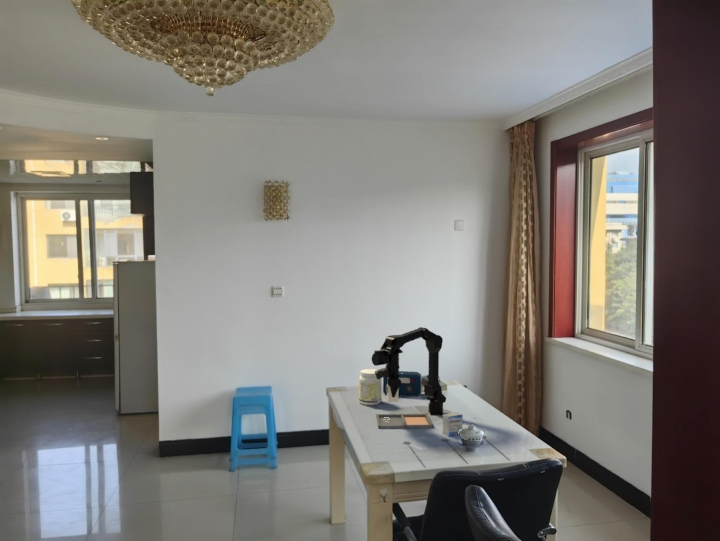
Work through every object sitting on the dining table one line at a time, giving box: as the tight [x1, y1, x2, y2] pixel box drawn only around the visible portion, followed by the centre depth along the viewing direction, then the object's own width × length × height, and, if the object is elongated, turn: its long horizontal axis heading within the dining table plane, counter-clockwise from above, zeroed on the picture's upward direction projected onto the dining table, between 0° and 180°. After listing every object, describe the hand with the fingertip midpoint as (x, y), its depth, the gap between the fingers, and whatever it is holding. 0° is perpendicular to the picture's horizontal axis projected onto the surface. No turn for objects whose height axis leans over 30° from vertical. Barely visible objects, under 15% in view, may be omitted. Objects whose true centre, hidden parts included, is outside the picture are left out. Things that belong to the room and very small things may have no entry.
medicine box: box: [442, 412, 464, 437], centre depth 234 cm, size 8×4×9 cm, turn 117°
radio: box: [382, 370, 422, 397], centre depth 297 cm, size 21×9×20 cm, turn 81°
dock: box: [375, 413, 434, 430], centre depth 248 cm, size 25×17×2 cm
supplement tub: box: [358, 368, 383, 406], centre depth 280 cm, size 12×12×17 cm
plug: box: [386, 384, 399, 403], centre depth 247 cm, size 6×4×8 cm
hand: (392, 395), depth 248 cm, fingers closed on plug, 4 cm apart
